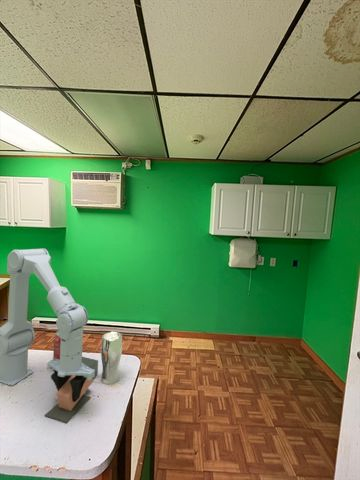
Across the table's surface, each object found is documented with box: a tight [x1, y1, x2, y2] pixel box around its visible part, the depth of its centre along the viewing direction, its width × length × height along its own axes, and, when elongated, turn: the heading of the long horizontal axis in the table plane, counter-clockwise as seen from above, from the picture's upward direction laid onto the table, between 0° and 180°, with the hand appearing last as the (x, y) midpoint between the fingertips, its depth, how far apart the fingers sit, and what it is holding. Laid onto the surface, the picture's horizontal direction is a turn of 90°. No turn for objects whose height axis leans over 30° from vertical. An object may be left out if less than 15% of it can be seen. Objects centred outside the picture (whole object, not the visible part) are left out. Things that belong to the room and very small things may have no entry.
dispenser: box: [68, 356, 99, 380], centre depth 80 cm, size 10×7×6 cm
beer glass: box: [100, 331, 123, 385], centre depth 81 cm, size 7×7×15 cm
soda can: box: [52, 330, 61, 360], centre depth 86 cm, size 7×7×13 cm
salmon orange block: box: [55, 375, 94, 411], centre depth 70 cm, size 4×10×5 cm, turn 164°
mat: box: [44, 394, 92, 424], centre depth 68 cm, size 7×10×1 cm
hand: (69, 397), depth 67 cm, fingers closed on salmon orange block, 4 cm apart
